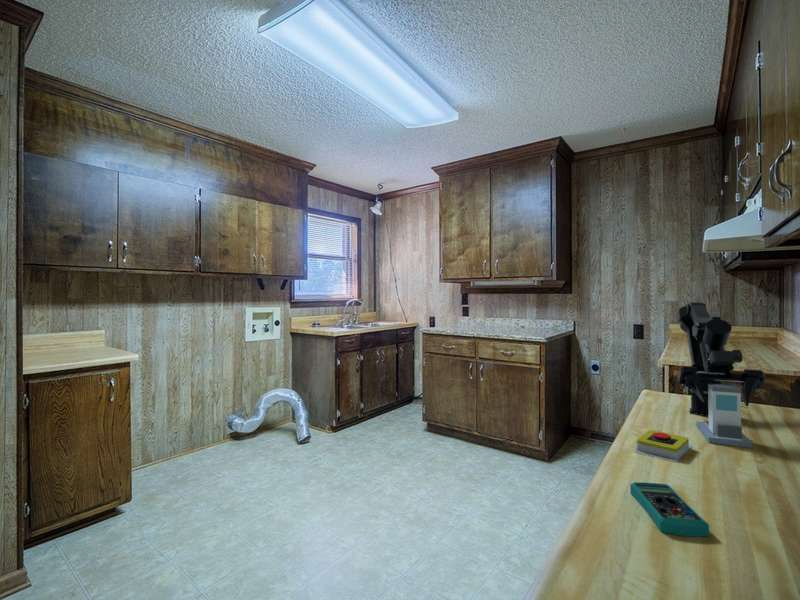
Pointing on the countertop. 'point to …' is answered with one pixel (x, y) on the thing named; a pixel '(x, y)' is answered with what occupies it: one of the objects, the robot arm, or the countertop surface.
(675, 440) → the emergency button
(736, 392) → the block
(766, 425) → the countertop surface
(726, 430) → the end clamps
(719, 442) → the rail board
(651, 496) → the digital multimeter
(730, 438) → the steel rail
